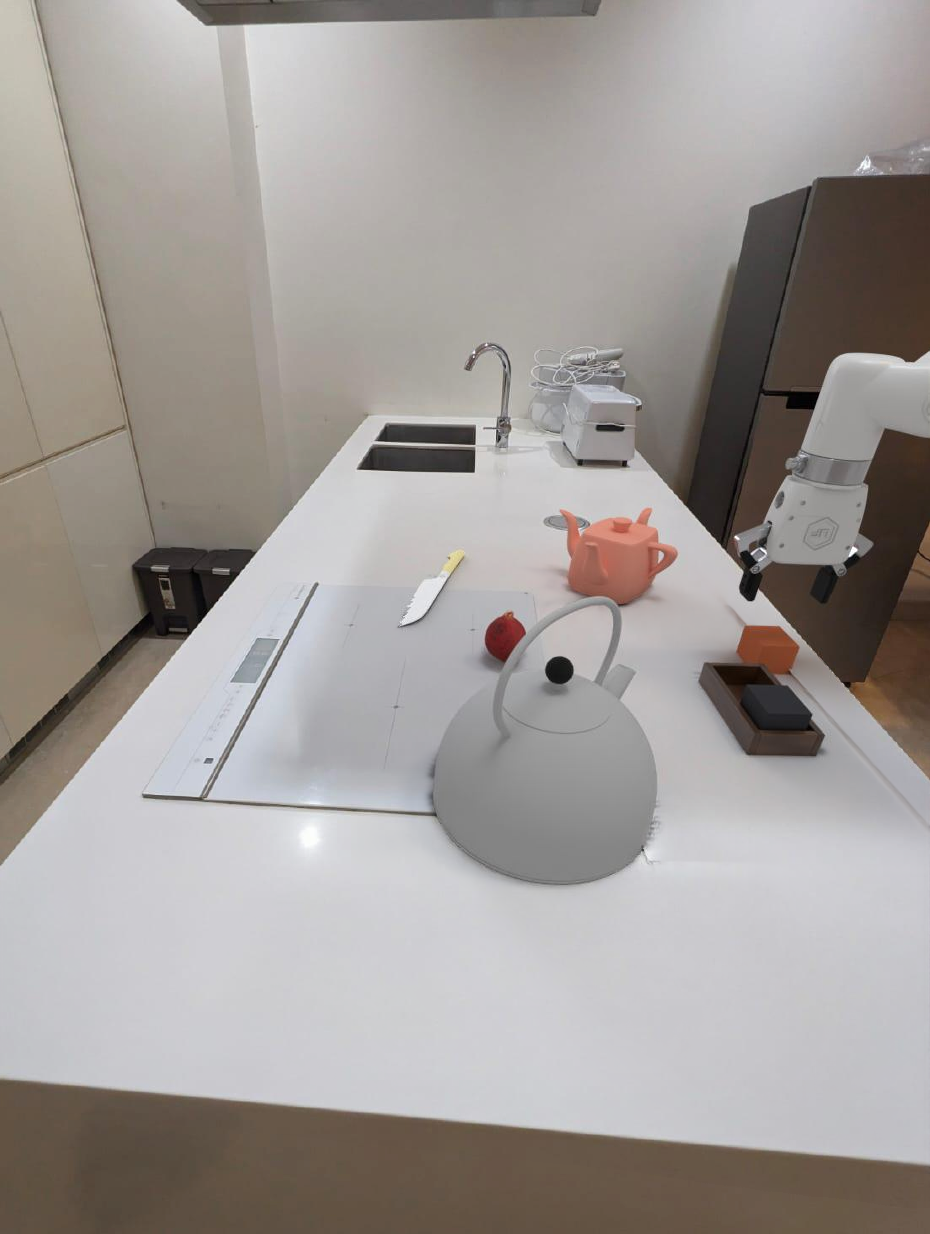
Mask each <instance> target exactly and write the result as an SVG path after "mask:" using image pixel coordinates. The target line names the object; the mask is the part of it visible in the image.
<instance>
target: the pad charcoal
mask: <svg viewBox="0 0 930 1234" xmlns="http://www.w3.org/2000/svg"><path fill="white" fill-rule="evenodd" d="M740 705H741V706H742V708H743V709H744V710H745V712H746V713H747V715H748V716H749V717H750V719H751V720H752V721H753V723H754V724H755V726H756V727H757V728H758V730H781V731H806V729H807V727H808V724H809V722H810V720H811V719H812V717H813V715H814V714H813V713H812V712H811V710H810V709H809V707H808V706H806V704H804V702H803V701H802V700H801V699H800V698H799V697H798V695H797V694H796V693H795V692H794V691H793V690H792V689H791V687H790V686H789V685H787V684H782V685H746V687H745V690H744V693H743V696H742V699H741V702H740Z"/></svg>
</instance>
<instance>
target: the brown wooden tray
mask: <svg viewBox="0 0 930 1234" xmlns="http://www.w3.org/2000/svg"><path fill="white" fill-rule="evenodd" d="M698 683H699V684H700V686H701V688H702V689H703V690H704V692H705V694H706V695H707V697H708V698H709V700H710V701H711V703H712V704H713V705H714V708H715V709H716V710H717V712H718V713H719V715H720V716H721V718H722V720H723V721H724V723H725V724H726V726H727V727H728V728H729V730H730V731H731V733H732V735H733V736H734V738H735V739H736V740H737V742H738V743H739V745H740V746H741V748H742V750H743V751H744V753H745V755H746V756H778V757H779V756H781V757H784V756H785V757H786V756H787V757H790V756H791V757H816V756H817V755H818V752H819V750H820V748H821V746H822V744H823V742H824V739H825V737H826V734H825V732H823V731H822V730H821V729H820V727H819V726H818V725H817V724H816V723H815V722H814V720H813V719H812V718H811V720H810V722H809V724H808V727H807V729H806V731H781V730H758V728H757V727H756V726H755V724H754V723H753V721H752V720H751V719H750V717H749V716H748V715H747V713H746V712H745V710H744V709H743V708H742V706H741V705H740V702H741V699H742V696H743V693H744V690H745V687H746V685H783V684H782V683H781V682H780V680H778V678H777V677H776V676H775V674H772V673H771V671H770V670H769V669H768V668H767V667H766V666H765V664H763V663H745V662H712V661H711V662H710V661H705V662H703V665H702V668H701V670H700V675H699V677H698Z"/></svg>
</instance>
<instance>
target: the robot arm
mask: <svg viewBox="0 0 930 1234" xmlns="http://www.w3.org/2000/svg"><path fill="white" fill-rule="evenodd" d="M887 429H888V430H892V431H896V432H900V433H905V434H908V435H910V436H911V435H912V436H916V437H920V438H927V439H930V350H929V351H927V352H926V353H924V354H923V355H922V356H920V357H919V358H918V359H917V360H915V361H914V362H913V361H912V362H911V361H905V360H904V359H903V358H901V357H899V356H894V355H889V354H881V353H872V352H871V353H870V352H847V353H843V354H840V355H838V356H836V357H835V358H834V359H833V360H832V362H831V363H830V365H829V367H828V369H827V372H826V374H825V377H824V380H823V382H822V386H821V389H820V392H819V395H818V398H817V400H816V404H815V406H814V409H813V412H812V416H811V418H810V420H809V424H808V427H807V430H806V433H805V436H804V439H803V442H802V444H801V448H800V449H799V450H798V452H797V455H796V456H795V457H788V458H787V460H786V462H785V470H791V473H792V474H789V475H788V474H787V476H786V477H785V478H784V480H783V482H782V483H781V485H780V487H779V489H778V490H777V491H776V494H775V496H774V498H773V500H772V502H771V504H770V506H769V508H768V511H767V513H766V516H765V517H764V520H763V523H762V524H759V525H757V526H755V527H752V528H750V529H747V530H745V531H742V532H740V533H737V534H736V535H734V536H733V542H734V547H735V550H736V553H735V554H736V556H737V557H738V559H739V560H740V561H741V563H742V565H743V566H744V570H743V572H742V575H741V579H740V582H739V585H738V590H739V594H740V595H741V596H742V597H743V598H744V599H745V601H746V602H751V603H752V602H754V601H755V600H756V597H757V594H758V592H759V589H760V586H761V583H762V579H763V577H764V576H763V575H764V574H763V573H761V571H763V569H765V568H766V567H768V566H769V565H771V564H772V563H773V562H774V563H777V564H784V565H785V564H786V565H806V566H808V565H809V566H811V565H812V566H821V567H820V568H819V570H818V571H817V574H816V575H815V579H814V581H813V584H812V586H811V588H810V592H809V595H810V596H811V597H812V598H813V599H815V600H816V602H818V603H819V604H821V605H826V604H828V602H829V599H830V597H831V595H833V592H834V589H835V587H836V584H837V582H838V580H839V578H840V577H843V576H844V575H846V573H847V570H849V569H850V568H852V567H854V566H855V565H857V564H858V563H859V562H860V561H861V557H863V556H864V555H865V554H867V553H868V552H869V551H870V550H871V549H872V548H873V546H874V542H873V541H872V540H870V539H868V538H867V537H865V536H864V535H863V534H861V533H860V532H859V531H860V527H861V524H862V521H863V518H864V513H865V510H866V506H867V505H866V504H867V498H868V494H869V493H868V492H869V484H866V483H865V482H864V481H865V479H866V476H867V473H868V471H869V468H870V465H871V464H872V461H873V458H874V456H875V453H876V451H877V448H878V446H879V444H880V441H881V439H882V436H883V433H884V432H885V430H887ZM756 541H757V542H756ZM754 542H756V547H757V548H755V549H754V550H753V551H752V552H750V545H751V544H752V543H754Z"/></svg>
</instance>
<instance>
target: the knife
mask: <svg viewBox="0 0 930 1234" xmlns="http://www.w3.org/2000/svg"><path fill="white" fill-rule="evenodd" d="M465 554H466V552H465V550H461V549H458V550H455V551H453V552H451V553H450V554H448V555H447V557H449V560H448V561H446V563H445V564H444V565H443V567H442V569H441V570H440V573H439V574H438V576H437V577H435V578H426V579H423V580H422V582H421V583H420V585H419V586H418V588H417V590H416V591H415V593H414V594H413V596H414V597H415V598H413V599H412V598H411V599H412V600H411V599H410V601H413V602H412V603H411V604H410V605H408V604H407V606H406V608H407V607H411V608H410V609H409V610H408V611H407V612H408V613H407V614H406V615H405V616H403V615H402V616H403V617H405V618H404V619H403V620H402V622H401V621H400V620H399V622H400V623H402V625H400V626H399V627H402V626H405V625H408V624H409V625H410V624H412V623H414V622H416V621H418V620H420V619H422V617H424V615H425V614H427V612H428V610H429V609H430V607H431V606H432V604H433V603H434V601H435V599H436V598H437V596H438V595H439V593H440V592H441V590H442V588H443V586H445V584H446V582H447V580H448V578H449V577H450V576H451V574H452V573H453V571H454V570H455V569H456V567H457V566H458V565H459V563H460V562H461V560H462V559H463V558H464V556H465Z"/></svg>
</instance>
